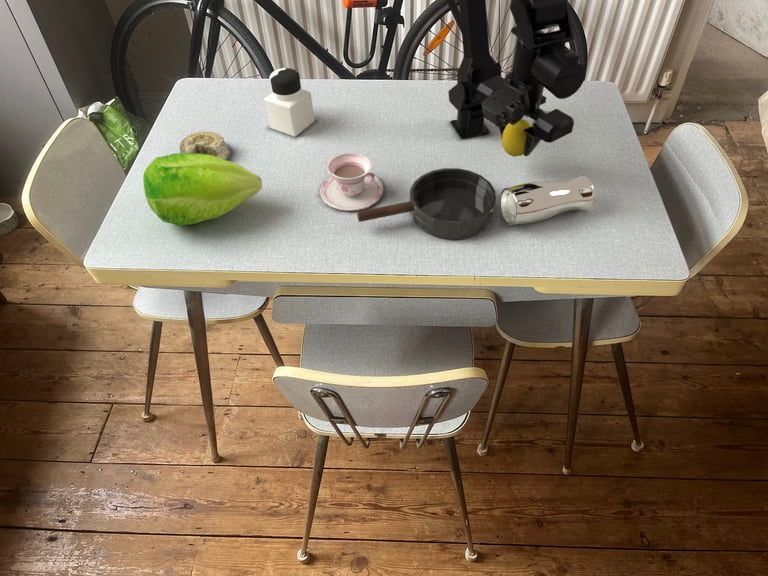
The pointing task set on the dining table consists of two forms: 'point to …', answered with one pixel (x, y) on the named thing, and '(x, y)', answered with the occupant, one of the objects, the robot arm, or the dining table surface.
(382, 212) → the pan handle
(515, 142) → the lemon
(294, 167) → the dining table surface
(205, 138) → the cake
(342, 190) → the teacup
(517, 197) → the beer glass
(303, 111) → the medicine bottle
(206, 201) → the lettuce
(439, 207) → the pan
